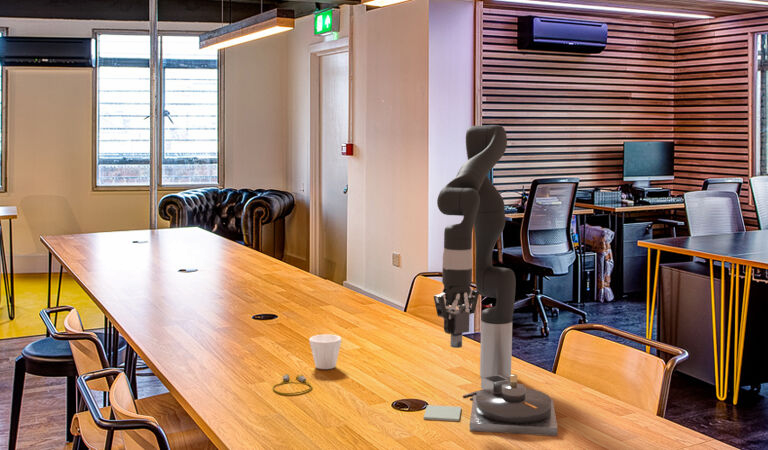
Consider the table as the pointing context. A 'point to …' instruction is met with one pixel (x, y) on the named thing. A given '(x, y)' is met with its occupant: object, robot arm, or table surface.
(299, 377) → the olive earphones
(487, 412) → the chuck collar
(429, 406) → the mat
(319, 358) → the cup
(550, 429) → the drill stand
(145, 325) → the table surface
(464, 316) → the block
